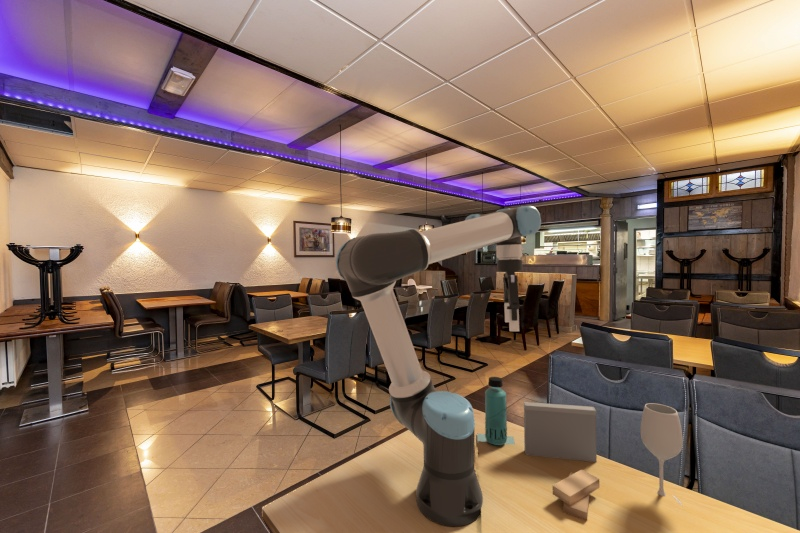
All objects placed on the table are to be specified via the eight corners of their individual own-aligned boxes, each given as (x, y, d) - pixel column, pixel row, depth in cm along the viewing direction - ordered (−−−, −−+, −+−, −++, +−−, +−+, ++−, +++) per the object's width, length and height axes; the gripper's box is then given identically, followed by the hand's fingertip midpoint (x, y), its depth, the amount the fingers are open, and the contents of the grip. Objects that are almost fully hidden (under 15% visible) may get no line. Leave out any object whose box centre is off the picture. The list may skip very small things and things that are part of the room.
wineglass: (691, 513, 71) (690, 417, 71) (651, 509, 73) (651, 414, 73) (670, 490, 79) (669, 403, 79) (634, 486, 80) (634, 400, 80)
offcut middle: (570, 480, 81) (570, 472, 81) (590, 486, 79) (590, 478, 79) (563, 513, 70) (563, 504, 70) (587, 522, 68) (587, 512, 68)
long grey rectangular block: (525, 459, 92) (525, 405, 92) (524, 454, 94) (523, 401, 94) (596, 467, 88) (596, 410, 88) (593, 461, 90) (593, 406, 90)
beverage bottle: (486, 449, 96) (485, 381, 96) (483, 438, 102) (483, 374, 102) (509, 451, 95) (508, 382, 95) (505, 439, 101) (504, 374, 101)
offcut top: (581, 477, 79) (581, 469, 79) (599, 487, 76) (599, 479, 76) (552, 494, 74) (552, 485, 74) (570, 505, 70) (570, 496, 70)
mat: (478, 454, 95) (478, 452, 95) (477, 434, 105) (477, 433, 105) (518, 458, 92) (518, 456, 92) (513, 438, 103) (513, 436, 103)
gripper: (528, 258, 90) (531, 335, 90) (516, 258, 114) (518, 319, 114) (500, 259, 91) (502, 335, 92) (494, 259, 116) (496, 319, 116)
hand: (511, 326), depth 103 cm, fingers open, 13 cm apart
